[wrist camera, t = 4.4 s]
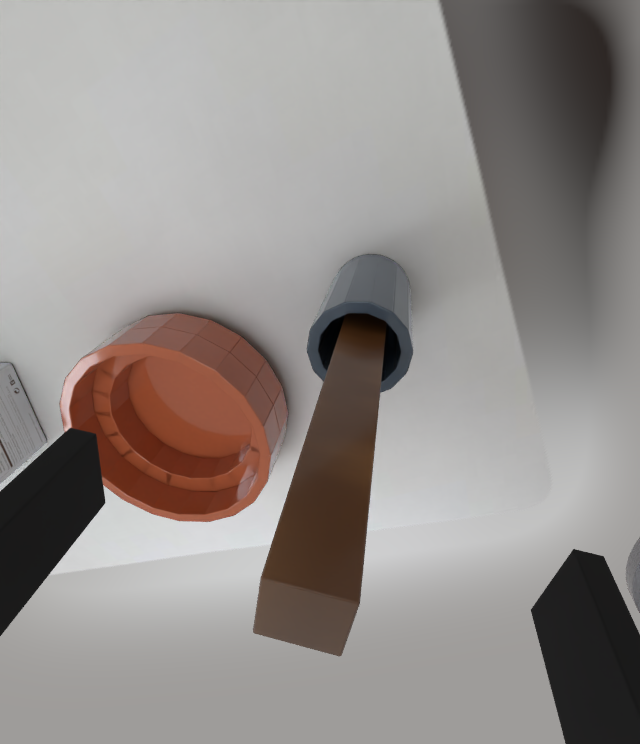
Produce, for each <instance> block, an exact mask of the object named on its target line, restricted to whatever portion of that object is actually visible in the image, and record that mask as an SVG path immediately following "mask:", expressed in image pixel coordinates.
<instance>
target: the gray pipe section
mask: <svg viewBox="0 0 640 744" xmlns="http://www.w3.org/2000/svg"><path fill="white" fill-rule="evenodd" d="M348 313H368V314H370V315H372V316H375V317H377V318H379V319H381V320H383V321H385V322H386V323H387V326H386V337H385V347H384V357H383V368H382V378H381V389H380V393H381V392H383V391H386V390H389V389H391V388H392V387H394V386H395V384H396V383H397V382H398V381H399V380H400V379H401V378H402V377H403V376H404V375H405V374H406V373H407V372H408V368H409V365H410V362H411V359H412V355H413V329H412V299H411V291H410V284H409V280H408V277H407V275H406V273H405V272H404V270H403V269H402V268H401V267H400V266H399V265H398V264H397V263H396V262H395V261H393V260H391V259H390V258H387V257H385V256H382V255H376V254H367V255H362V256H358V257H356V258H353V259H352V260H350V261H349V262H347V263H346V264H345V265H344V266H343V267H342V268H341V269H340V270H339V272H338V274H337V275H336V277H335V278H334V280H333V282H332V284H331V286H330V288H329V290H328V293H327V295H326V297H325V299H324V301H323V303H322V305H321V307H320V310H319V312H318V314H317V316H316V318H315V320H314V322H313V324H312V327H311V329H310V332H309V338H308V344H307V353H308V356H309V359H310V362H311V365H312V368H313V370H314V372H315V373H316V374H317V375H318V376H319V377H320V378H321V379H322V380H323V381H324V379H325V376H326V373H327V370H328V367H329V364H330V361H331V358H332V354H333V351H334V348H335V345H336V342H337V339H338V336H339V333H340V330H341V326H342V323H343V320H344V317H345V315H346V314H348Z"/></svg>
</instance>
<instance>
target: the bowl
mask: <svg viewBox="0 0 640 744" xmlns="http://www.w3.org/2000/svg"><path fill="white" fill-rule="evenodd" d="M60 410H61V416H62V422H63V428H64V431H65V432H66V431H67V430H68V429H69V428H74V429H78V430H83V431H87V432H91V433H95V434H96V435H97V443H98V450H99V458H100V466H101V473H102V481H103V485H104V486H105V487H107V488H108V489H109V490H110V491H112V492H113V493H114V494H116V495H117V496H118V497H120V498H121V499H124V501H126V502H128V503H130V504H132V505H134V506H137V507H139V508H141V509H143V510H145V511H147V512H149V513H151V514H154V515H158V516H162V517H166V518H170V519H173V520H177V521H198V522H208V521H209V522H210V521H214V520H218V519H222V518H226V517H230V516H234V515H236V514H237V513H239V512H240V511H242V510H243V509H245V508H246V507H247V506H249V505H250V504H252V503H253V502H254V501H255V500H256V499H257V497H258V496H259V494H260V493H261V491H262V489H263V488H264V486H265V485H266V483H267V481H268V479H269V476H270V474H271V471H272V469H273V466H274V464H275V461H276V458H277V456H278V453H279V451H280V448H281V446H282V443H283V440H284V438H285V432H286V426H287V419H288V410H287V406H286V401H285V397H284V392H283V388H282V385H281V384H280V382H279V380H278V379H277V377H276V375H275V374H274V372H273V370H272V369H271V367H270V365H269V364H268V362H267V360H266V359H265V358H264V357H263V356H262V355H261V354H260V353H259V352H258V351H256V350H255V349H254V348H253V347H252V346H251V345H250V344H249V343H248V342H247V341H246V340H245V339H244V338H243V337H242V336H240V335H238V334H236V333H234V332H233V331H231V330H229V329H227V328H225V327H223V326H221V325H220V324H218V323H216V322H214V321H212V320H208V319H204V318H199V317H195V316H190V315H186V314H181V313H173V314H162V315H151V316H147V317H145V318H143V319H140V320H138V321H136V322H134V323H132V324H130V325H128V326H126V327H124V328H123V329H122V330H120V331H119V332H117V333H116V334H115V335H113V336H112V337H110V338H109V339H108V340H106V341H105V342H103V343H102V344H101V345H99V346H98V347H96V348H95V349H94V350H92V351H91V352H89V353H88V354H87V355H85V356H84V357H83V358H81V359H80V361H79V362H78V363H77V364H76V366H75V367H74V368H73V369H72V371H71V372H70V373H69V374H68V376H67V377H66V378H65V381H64V386H63V390H62V395H61V399H60Z"/></svg>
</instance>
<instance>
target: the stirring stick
mask: <svg viewBox="0 0 640 744" xmlns="http://www.w3.org/2000/svg"><path fill="white" fill-rule="evenodd" d="M386 326H387V323H386V322H385V321H383V320H381V319H379V318H377V317H375V316H372V315H370V314H368V313H348V314H346V315H345V317H344V320H343V323H342V326H341V330H340V333H339V336H338V339H337V342H336V345H335V348H334V351H333V354H332V358H331V361H330V364H329V367H328V370H327V373H326V376H325V379H324V383H323V386H322V389H321V392H320V395H319V398H318V401H317V404H316V407H315V411H314V414H313V417H312V420H311V423H310V426H309V429H308V432H307V435H306V439H305V442H304V445H303V448H302V451H301V454H300V457H299V460H298V463H297V467H296V470H295V473H294V476H293V479H292V482H291V485H290V488H289V491H288V495H287V498H286V501H285V504H284V507H283V510H282V513H281V516H280V519H279V523H278V526H277V529H276V532H275V535H274V538H273V541H272V544H271V548H270V551H269V554H268V557H267V560H266V564H265V566H264V569H263V572H262V576H261V581H260V587H259V594H258V601H257V608H256V614H255V621H254V628H253V632H254V633H255V634H259V635H263V636H266V637H270V638H274V639H278V640H281V641H285V642H288V643H292V644H296V645H299V646H303V647H307V648H310V649H314V650H318V651H322V652H325V653H329V654H333V655H337V656H341V655H342V653H343V650H344V647H345V644H346V641H347V638H348V635H349V633H350V630H351V627H352V624H353V621H354V618H355V615H356V613H357V610H358V607H359V604H360V596H361V584H362V575H363V565H364V554H365V544H366V534H367V523H368V513H369V503H370V492H371V482H372V472H373V461H374V451H375V440H376V430H377V420H378V409H379V399H380V389H381V378H382V368H383V357H384V347H385V337H386Z"/></svg>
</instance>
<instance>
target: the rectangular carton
mask: <svg viewBox="0 0 640 744" xmlns="http://www.w3.org/2000/svg"><path fill="white" fill-rule="evenodd" d="M46 443H47V441H46V438H45V436H44V434H43V432H42V430H41V428H40V425H39V423H38V421H37V419H36V416H35V414H34V412H33V410H32V407H31V405H30V403H29V401H28V399H27V397H26V394H25V392H24V390H23V388H22V386H21V383H20V381H19V379H18V377H17V375H16V373H15V370H14V368H13V366H12V364H11V363H0V484H1V483H2V482H3V481H4V480H5V479H6V478H7V477H9V476H10V475H11V474H12V473H13V472H14V471H15V470H16V469H17V468H19V467H20V466H21V465H22V464H23V463H24V462H25V461H27V460H28V459H29V458H30V457H31V456H32V455H33V454H34V453H35V452H37V451H38V450H39V449H40V448H41V447H42V446H43V445H44V444H46Z"/></svg>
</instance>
